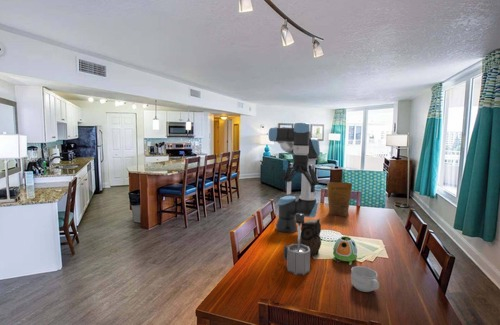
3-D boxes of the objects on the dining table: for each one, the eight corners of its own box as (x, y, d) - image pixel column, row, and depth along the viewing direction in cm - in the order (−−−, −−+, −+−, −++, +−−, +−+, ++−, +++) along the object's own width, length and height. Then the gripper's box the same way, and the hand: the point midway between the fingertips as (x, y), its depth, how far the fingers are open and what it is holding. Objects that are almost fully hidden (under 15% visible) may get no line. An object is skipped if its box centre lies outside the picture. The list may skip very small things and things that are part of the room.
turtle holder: (359, 253, 156) (361, 233, 154) (354, 267, 140) (355, 245, 139) (337, 249, 162) (338, 229, 160) (330, 261, 146) (331, 240, 145)
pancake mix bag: (349, 217, 220) (351, 183, 217) (325, 214, 229) (327, 181, 226) (350, 215, 226) (352, 182, 223) (327, 212, 235) (328, 180, 232)
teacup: (346, 281, 127) (347, 265, 126) (368, 281, 128) (369, 264, 127) (360, 300, 113) (362, 282, 112) (385, 299, 114) (387, 281, 113)
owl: (321, 250, 159) (322, 217, 157) (319, 260, 147) (321, 224, 145) (299, 247, 163) (300, 215, 161) (296, 257, 151) (297, 222, 149)
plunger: (287, 251, 137) (288, 214, 135) (297, 247, 142) (298, 211, 140) (300, 256, 131) (301, 217, 129) (309, 252, 137) (310, 214, 134)
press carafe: (277, 266, 140) (278, 245, 139) (291, 259, 148) (291, 240, 147) (300, 277, 130) (301, 255, 129) (313, 269, 138) (314, 248, 136)
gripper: (276, 153, 142) (275, 193, 144) (318, 156, 124) (316, 201, 126) (286, 152, 147) (285, 191, 149) (327, 155, 129) (325, 199, 131)
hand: (299, 196), depth 138 cm, fingers open, 13 cm apart
